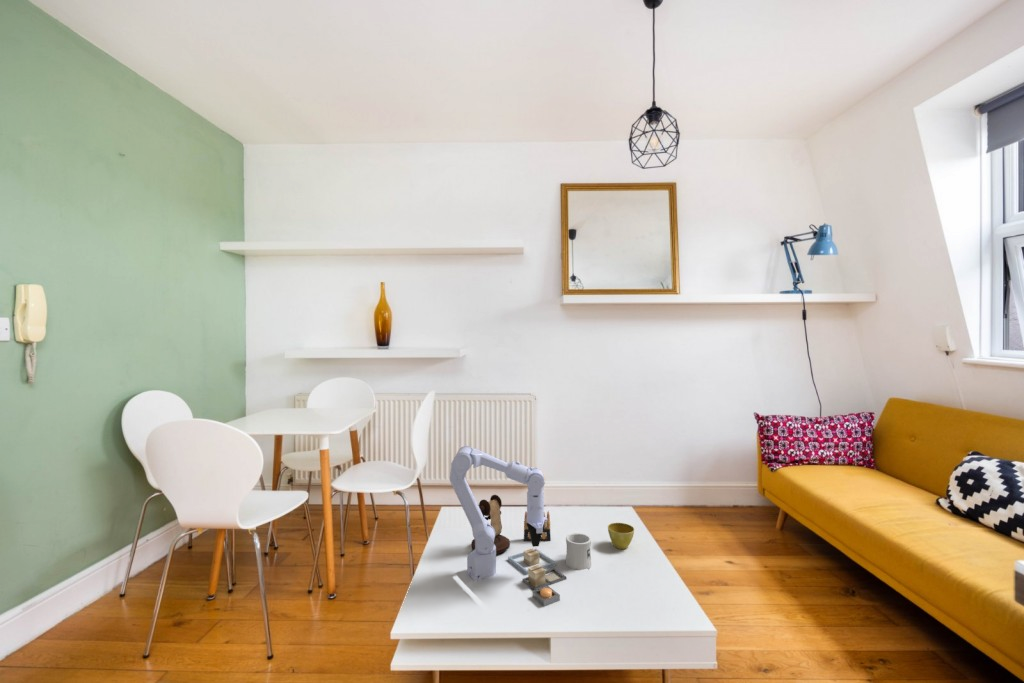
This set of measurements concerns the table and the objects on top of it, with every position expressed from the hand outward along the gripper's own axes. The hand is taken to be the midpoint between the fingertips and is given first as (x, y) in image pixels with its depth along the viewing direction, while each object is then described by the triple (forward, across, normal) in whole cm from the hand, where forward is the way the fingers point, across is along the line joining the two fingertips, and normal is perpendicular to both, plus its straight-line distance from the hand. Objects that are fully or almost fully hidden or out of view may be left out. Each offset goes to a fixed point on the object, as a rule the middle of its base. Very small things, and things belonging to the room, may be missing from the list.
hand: (535, 545), depth 157 cm
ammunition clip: (+11, +26, -6) cm, 29 cm away
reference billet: (+9, -6, +1) cm, 11 cm away
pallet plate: (+10, -5, -2) cm, 12 cm away
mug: (+11, +6, -17) cm, 21 cm away
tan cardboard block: (+10, +7, 0) cm, 12 cm away
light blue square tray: (+10, +7, 0) cm, 13 cm away
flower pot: (+10, +17, -37) cm, 42 cm away
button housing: (+10, -16, 0) cm, 19 cm away
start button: (+9, -16, 0) cm, 18 cm away
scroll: (+11, +22, +13) cm, 28 cm away
